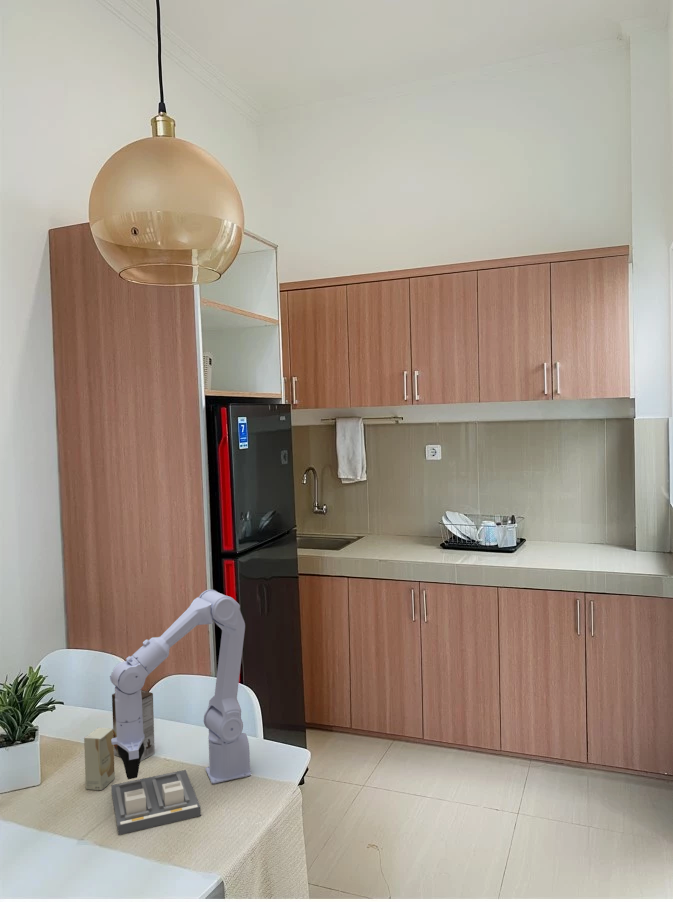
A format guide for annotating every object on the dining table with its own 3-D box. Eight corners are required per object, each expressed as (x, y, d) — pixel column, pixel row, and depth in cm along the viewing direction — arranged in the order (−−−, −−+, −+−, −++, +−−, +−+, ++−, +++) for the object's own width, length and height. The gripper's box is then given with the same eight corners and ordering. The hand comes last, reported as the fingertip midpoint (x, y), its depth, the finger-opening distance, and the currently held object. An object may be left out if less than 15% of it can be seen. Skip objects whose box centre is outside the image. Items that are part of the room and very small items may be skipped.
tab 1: (143, 801, 154) (143, 785, 154) (146, 810, 151) (145, 794, 150) (124, 805, 153) (124, 789, 153) (126, 815, 149) (126, 798, 149)
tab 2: (180, 793, 157) (180, 777, 157) (184, 802, 154) (183, 786, 153) (162, 797, 156) (162, 781, 156) (165, 806, 152) (164, 790, 152)
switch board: (185, 777, 169) (185, 767, 169) (200, 815, 152) (200, 804, 152) (111, 793, 163) (111, 782, 162) (118, 835, 146) (117, 822, 146)
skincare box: (102, 791, 164) (99, 739, 163) (85, 789, 165) (82, 738, 164) (116, 777, 170) (114, 727, 170) (99, 776, 171) (97, 726, 170)
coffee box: (112, 755, 182) (110, 694, 181) (131, 745, 187) (129, 685, 186) (137, 763, 177) (134, 700, 176) (156, 753, 182) (154, 692, 181)
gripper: (108, 708, 162) (110, 766, 163) (113, 733, 149) (116, 797, 149) (139, 703, 165) (142, 760, 165) (147, 727, 151) (150, 789, 152)
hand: (132, 777), depth 157 cm, fingers closed
